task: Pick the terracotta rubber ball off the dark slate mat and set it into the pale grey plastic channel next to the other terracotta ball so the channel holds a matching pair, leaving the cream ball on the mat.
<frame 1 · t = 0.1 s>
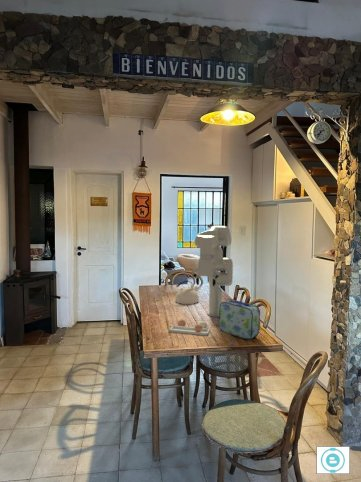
hand: (205, 285, 202), 31 cm above the table, fingers open, 9 cm apart
grey channel: (189, 333, 208), on the table
lunch box: (238, 335, 206), on the table
slate mat: (192, 328, 216), on the table
ball cream: (203, 328, 215), resting on slate mat
kettle: (187, 301, 286), on the table
ball terracotta b: (198, 332, 207), point 1 cm above the table, touching grey channel
ball terracotta a: (182, 326, 218), resting on slate mat
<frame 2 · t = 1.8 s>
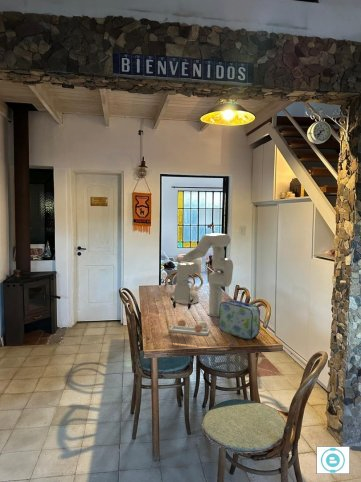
hand: (181, 308, 217), 13 cm above the table, fingers open, 9 cm apart
nothing on the table moved.
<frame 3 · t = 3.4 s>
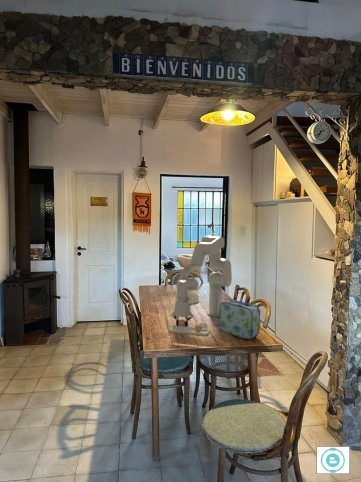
hand: (182, 326, 218), 1 cm above the table, fingers closed on ball terracotta a, 4 cm apart
ball terracotta a: (182, 326, 218), resting on slate mat, touching gripper
everything else where it was.
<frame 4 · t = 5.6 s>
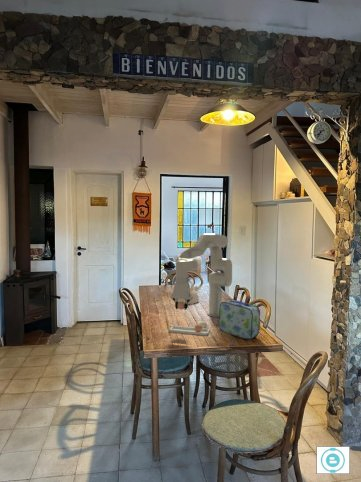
hand: (181, 308, 208), 15 cm above the table, fingers closed on ball terracotta a, 4 cm apart
ball terracotta a: (181, 309, 208), point 15 cm above the table, touching gripper
everything else where it was.
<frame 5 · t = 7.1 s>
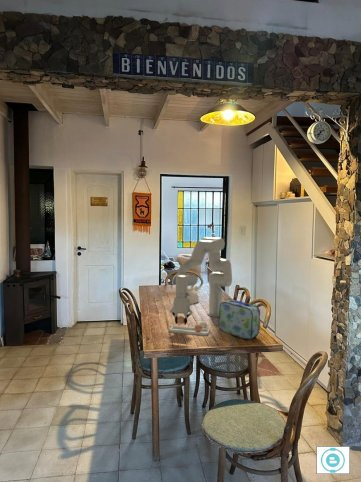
hand: (181, 323, 209), 6 cm above the table, fingers closed on ball terracotta a, 4 cm apart
ball terracotta a: (181, 324, 209), point 5 cm above the table, touching gripper
everything else where it was.
when the fingers open (3 cm above the table, at t = 8.1 s): ball terracotta a drops 2 cm, resting on grey channel.
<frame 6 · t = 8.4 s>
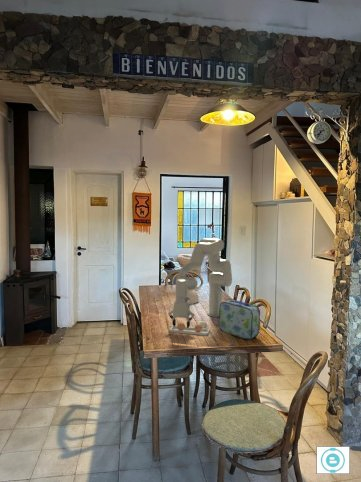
hand: (181, 326, 209), 4 cm above the table, fingers open, 8 cm apart
ball terracotta a: (181, 330, 209), point 1 cm above the table, touching grey channel
everything else where it was.
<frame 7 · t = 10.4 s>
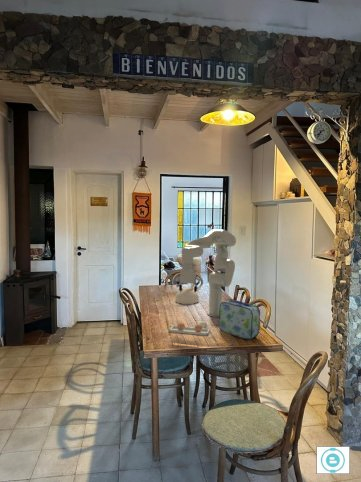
hand: (188, 291, 220), 23 cm above the table, fingers open, 9 cm apart
nothing on the table moved.
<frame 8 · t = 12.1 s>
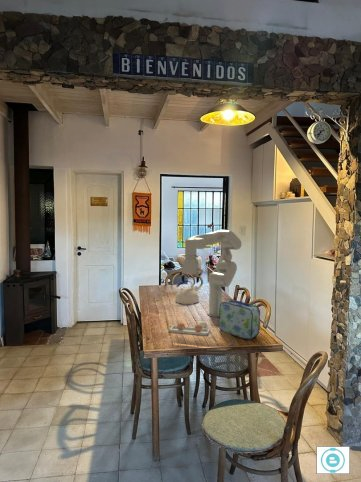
hand: (190, 282, 225), 28 cm above the table, fingers open, 9 cm apart
nothing on the table moved.
at the end: ball terracotta a inside the target area on the grey channel (0.2 cm from its centre), point 1.0 cm above the grey channel's base; ball terracotta b inside the target area on the grey channel (1.0 cm from its centre), point 1.0 cm above the grey channel's base; ball cream inside the target area (0.0 cm from its centre), resting on slate mat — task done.
